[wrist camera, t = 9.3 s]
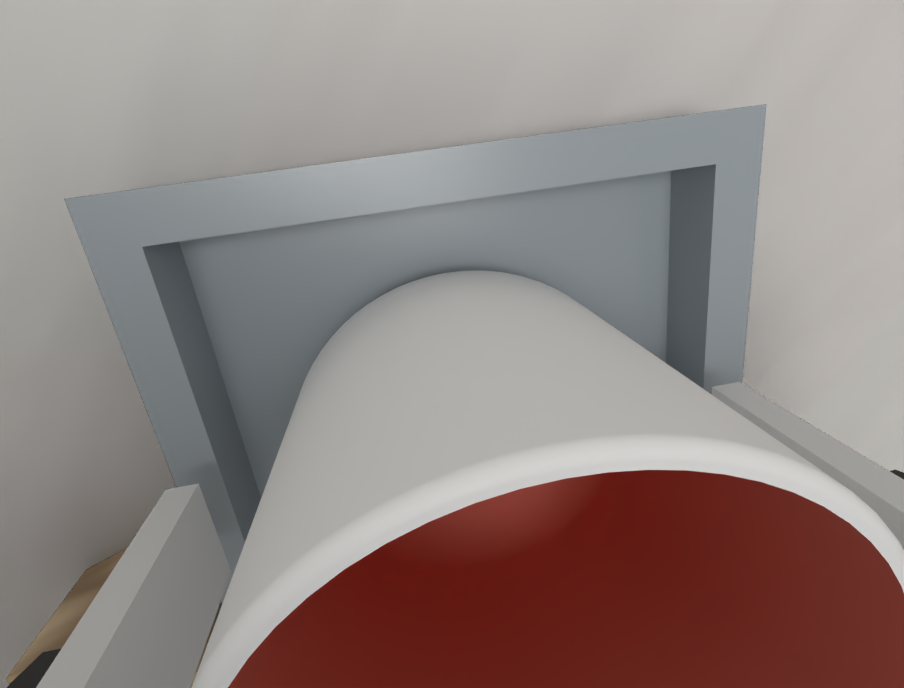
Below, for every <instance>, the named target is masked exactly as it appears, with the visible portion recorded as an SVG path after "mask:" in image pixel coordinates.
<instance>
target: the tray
mask: <svg viewBox="0 0 904 688" xmlns="http://www.w3.org/2000/svg"><path fill="white" fill-rule="evenodd" d="M765 115H766V104H764V105H756V106H749V107H741V108H734V109H727V110H719V111H712V112H704V113H697V114H690V115H682V116H675V117H667V118H660V119H653V120H645V121H638V122H630V123H623V124H615V125H608V126H601V127H593V128H586V129H578V130H571V131H564V132H556V133H549V134H541V135H534V136H527V137H519V138H512V139H504V140H497V141H490V142H482V143H475V144H467V145H460V146H453V147H445V148H438V149H430V150H423V151H415V152H408V153H401V154H393V155H386V156H378V157H371V158H364V159H356V160H349V161H341V162H334V163H327V164H319V165H312V166H304V167H297V168H290V169H282V170H275V171H267V172H260V173H253V174H245V175H238V176H230V177H223V178H215V179H208V180H201V181H193V182H186V183H178V184H171V185H164V186H156V187H149V188H141V189H134V190H127V191H119V192H112V193H104V194H97V195H90V196H82V197H75V198H67V199H64V200H65V203H66V205H67V208H68V210H69V213H70V215H71V218H72V221H73V223H74V226H75V228H76V231H77V233H78V236H79V239H80V241H81V244H82V246H83V249H84V251H85V254H86V257H87V259H88V262H89V264H90V267H91V269H92V272H93V275H94V277H95V280H96V282H97V285H98V287H99V290H100V292H101V295H102V298H103V300H104V303H105V305H106V308H107V310H108V313H109V316H110V318H111V321H112V323H113V326H114V328H115V331H116V334H117V336H118V339H119V341H120V344H121V346H122V349H123V351H124V354H125V357H126V359H127V362H128V364H129V367H130V369H131V372H132V375H133V377H134V380H135V382H136V385H137V387H138V390H139V393H140V395H141V398H142V400H143V403H144V405H145V408H146V410H147V413H148V416H149V418H150V421H151V423H152V426H153V428H154V431H155V434H156V436H157V439H158V441H159V444H160V446H161V449H162V452H163V454H164V457H165V459H166V462H167V464H168V467H169V469H170V472H171V475H172V477H173V480H174V482H175V485H176V487H182V486H188V485H193V484H198V483H199V486H200V489H201V491H202V494H203V497H204V499H205V502H206V505H207V508H208V510H209V513H210V516H211V518H212V521H213V524H214V526H215V529H216V532H217V534H218V537H219V540H220V542H221V545H222V548H223V551H224V553H225V556H226V559H227V561H228V564H229V567H230V569H231V574H230V577H229V580H228V582H227V585H226V588H225V591H224V594H223V596H222V599H221V603H222V604H223V601H224V598H225V595H226V593H227V590H228V587H229V585H230V582H231V579H232V576H233V574H234V571H235V568H236V565H237V563H238V560H239V557H240V555H241V552H242V549H243V546H244V544H245V541H246V538H247V536H248V533H249V530H250V527H251V525H252V522H253V519H254V516H255V514H256V511H257V508H258V506H259V503H260V500H261V497H262V495H263V492H264V489H265V486H266V484H267V481H268V478H269V476H270V473H271V470H272V467H273V465H274V462H275V459H276V457H277V454H278V451H279V448H280V446H281V443H282V440H283V437H284V435H285V432H286V429H287V427H288V424H289V421H290V418H291V416H292V413H293V410H294V408H295V405H296V402H297V399H298V397H299V394H300V391H301V388H302V386H303V383H304V381H305V379H306V376H307V374H308V372H309V370H310V368H311V366H312V364H313V363H314V361H315V359H316V358H317V356H318V355H319V353H320V351H321V350H322V349H323V347H324V346H325V345H326V343H327V342H328V341H329V339H330V338H331V337H332V336H333V335H334V334H335V333H336V332H337V330H338V329H339V328H340V327H341V326H342V325H343V324H344V323H345V322H346V321H347V320H349V319H350V318H351V317H352V316H353V315H354V314H355V313H357V312H358V311H359V310H361V309H362V308H363V307H365V306H366V305H367V304H369V303H370V302H372V301H373V300H375V299H377V298H378V297H380V296H382V295H383V294H385V293H387V292H389V291H391V290H393V289H395V288H397V287H399V286H402V285H404V284H407V283H409V282H412V281H415V280H418V279H422V278H425V277H428V276H433V275H437V274H442V273H449V272H457V271H474V270H484V271H496V272H504V273H509V274H514V275H519V276H523V277H526V278H529V279H533V280H536V281H539V282H542V283H544V284H546V285H548V286H551V287H553V288H555V289H557V290H559V291H561V292H562V293H564V294H566V295H568V296H569V297H571V298H572V299H574V300H575V301H576V302H578V303H579V304H581V305H582V306H584V307H585V308H587V309H588V310H590V311H591V312H592V313H594V314H595V315H597V316H598V317H600V318H601V319H603V320H604V321H606V322H607V323H608V324H610V325H611V326H613V327H614V328H616V329H617V330H619V331H620V332H622V333H623V334H624V335H626V336H627V337H629V338H630V339H632V340H633V341H635V342H636V343H637V344H639V345H640V346H642V347H643V348H645V349H646V350H648V351H649V352H651V353H652V354H653V355H655V356H656V357H658V358H659V359H661V360H662V361H664V362H665V363H666V364H668V365H669V366H671V367H672V368H674V369H675V370H677V371H678V372H680V373H681V374H682V375H684V376H685V377H687V378H688V379H690V380H691V381H693V382H694V383H695V384H697V385H698V386H700V387H701V388H703V389H704V390H706V391H707V392H709V393H710V394H711V395H712V387H714V386H719V385H724V384H730V383H735V382H740V383H742V379H743V367H744V356H745V344H746V333H747V321H748V310H749V298H750V287H751V275H752V264H753V252H754V241H755V229H756V218H757V206H758V195H759V183H760V172H761V160H762V149H763V137H764V126H765Z"/></svg>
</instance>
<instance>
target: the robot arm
mask: <svg viewBox="0 0 904 688" xmlns="http://www.w3.org/2000/svg"><path fill="white" fill-rule="evenodd" d="M712 395H713V396H714V397H716V398H717V399H719V400H720V401H722V402H723V403H724V404H726V405H727V406H729V407H730V408H732V409H733V410H735V411H736V412H737V413H739V414H740V415H742V416H743V417H745V418H746V419H748V420H749V421H751V422H752V423H753V424H755V425H756V426H758V427H759V428H761V429H762V430H764V431H765V432H766V433H768V434H769V435H771V436H772V437H774V438H775V439H777V440H778V441H780V442H781V443H782V444H784V445H785V446H787V447H788V448H790V449H791V450H793V451H794V452H795V453H797V454H798V455H800V456H801V457H803V458H804V459H806V460H807V461H808V462H810V463H811V464H813V465H814V466H816V467H817V468H819V469H820V470H822V471H823V472H824V473H826V474H827V475H829V476H830V477H832V478H833V479H835V480H836V481H837V482H839V483H840V484H842V485H843V486H845V487H846V488H848V489H849V490H851V491H852V492H853V493H855V494H856V495H857V496H858V497H859V498H860V499H861V500H862V501H864V502H865V503H866V504H867V505H868V506H869V507H870V508H871V509H873V510H874V511H875V512H876V513H877V514H878V516H879V517H880V518H881V519H882V521H883V522H884V523H885V524H886V526H887V527H888V528H889V529H890V531H891V532H892V533H893V534H894V536H895V537H896V538H897V539H898V541H899V542H900V544H901V546H902V548H903V550H904V473H903V472H900V471H897V470H893V471H888V470H887V469H885V468H883V467H882V466H880V465H878V464H877V463H875V462H873V461H872V460H870V459H868V458H867V457H865V456H863V455H862V454H860V453H858V452H857V451H855V450H853V449H851V448H850V447H848V446H846V445H845V444H843V443H841V442H840V441H838V440H836V439H835V438H833V437H831V436H830V435H828V434H826V433H825V432H823V431H821V430H820V429H818V428H816V427H814V426H813V425H811V424H809V423H808V422H806V421H804V420H803V419H801V418H799V417H798V416H796V415H794V414H793V413H791V412H789V411H788V410H786V409H784V408H782V407H781V406H779V405H777V404H776V403H774V402H772V401H771V400H769V399H767V398H766V397H764V396H762V395H761V394H759V393H757V392H756V391H754V390H752V389H751V388H749V387H747V386H745V385H744V384H742V383H740V382H735V383H730V384H724V385H719V386H714V387H712ZM230 574H231V569H230V567H229V564H228V561H227V559H226V556H225V553H224V551H223V548H222V545H221V542H220V540H219V537H218V534H217V532H216V529H215V526H214V524H213V521H212V518H211V516H210V513H209V510H208V508H207V505H206V502H205V499H204V497H203V494H202V491H201V489H200V486H199V483H198V484H193V485H188V486H182V487H177V488H172V489H166V490H165V491H164V493H163V494H162V496H161V497H160V499H159V500H158V502H157V503H156V505H155V506H154V508H153V509H152V511H151V512H150V514H149V516H148V517H147V519H146V520H145V522H144V523H143V525H142V526H141V528H140V529H139V531H138V532H137V534H136V535H135V537H134V538H133V540H132V542H131V543H130V545H129V546H128V548H127V549H126V551H125V552H124V554H123V555H122V557H121V558H120V560H119V561H118V563H117V565H116V566H115V568H114V569H113V571H112V572H111V574H110V575H109V577H108V578H107V580H106V581H105V583H104V584H103V586H102V587H101V589H100V591H99V592H98V594H97V595H96V597H95V598H94V600H93V601H92V603H91V604H90V606H89V607H88V609H87V610H86V612H85V614H84V615H83V617H82V618H81V620H80V621H79V623H78V624H77V626H76V627H75V629H74V630H73V632H72V633H71V635H70V636H69V638H68V640H67V641H66V643H65V644H64V646H63V647H62V648H61V649H56V650H51V651H47V652H42V653H41V654H40V655H39V656H38V657H37V658H36V659H35V660H34V661H33V662H32V663H31V664H30V665H29V666H28V667H27V668H26V669H25V670H24V671H23V672H21V673H20V674H19V675H18V676H17V677H16V678H15V679H14V680H13V681H12V682H11V683H10V684H9V686H8V687H7V688H190V686H191V683H192V680H193V677H194V674H195V672H196V669H197V666H198V663H199V661H200V658H201V655H202V652H203V649H204V647H205V644H206V641H207V638H208V635H209V633H210V630H211V627H212V624H213V621H214V619H215V616H216V613H217V610H218V608H219V605H220V602H221V599H222V596H223V594H224V591H225V588H226V585H227V582H228V580H229V577H230Z"/></svg>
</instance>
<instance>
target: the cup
mask: <svg viewBox="0 0 904 688" xmlns="http://www.w3.org/2000/svg"><path fill="white" fill-rule="evenodd" d="M192 688H904V550H903V548H902V546H901V544H900V542H899V541H898V539H897V538H896V537H895V536H894V534H893V533H892V532H891V531H890V529H889V528H888V527H887V526H886V524H885V523H884V522H883V521H882V519H881V518H880V517H879V516H878V514H877V513H876V512H875V511H874V510H873V509H871V508H870V507H869V506H868V505H867V504H866V503H865V502H864V501H862V500H861V499H860V498H859V497H858V496H857V495H856V494H855V493H853V492H852V491H851V490H849V489H848V488H846V487H845V486H843V485H842V484H840V483H839V482H837V481H836V480H835V479H833V478H832V477H830V476H829V475H827V474H826V473H824V472H823V471H822V470H820V469H819V468H817V467H816V466H814V465H813V464H811V463H810V462H808V461H807V460H806V459H804V458H803V457H801V456H800V455H798V454H797V453H795V452H794V451H793V450H791V449H790V448H788V447H787V446H785V445H784V444H782V443H781V442H780V441H778V440H777V439H775V438H774V437H772V436H771V435H769V434H768V433H766V432H765V431H764V430H762V429H761V428H759V427H758V426H756V425H755V424H753V423H752V422H751V421H749V420H748V419H746V418H745V417H743V416H742V415H740V414H739V413H737V412H736V411H735V410H733V409H732V408H730V407H729V406H727V405H726V404H724V403H723V402H722V401H720V400H719V399H717V398H716V397H714V396H713V395H711V394H710V393H709V392H707V391H706V390H704V389H703V388H701V387H700V386H698V385H697V384H695V383H694V382H693V381H691V380H690V379H688V378H687V377H685V376H684V375H682V374H681V373H680V372H678V371H677V370H675V369H674V368H672V367H671V366H669V365H668V364H666V363H665V362H664V361H662V360H661V359H659V358H658V357H656V356H655V355H653V354H652V353H651V352H649V351H648V350H646V349H645V348H643V347H642V346H640V345H639V344H637V343H636V342H635V341H633V340H632V339H630V338H629V337H627V336H626V335H624V334H623V333H622V332H620V331H619V330H617V329H616V328H614V327H613V326H611V325H610V324H608V323H607V322H606V321H604V320H603V319H601V318H600V317H598V316H597V315H595V314H594V313H592V312H591V311H590V310H588V309H587V308H585V307H584V306H582V305H581V304H579V303H578V302H576V301H575V300H574V299H572V298H571V297H569V296H568V295H566V294H564V293H562V292H561V291H559V290H557V289H555V288H553V287H551V286H548V285H546V284H544V283H542V282H539V281H536V280H533V279H529V278H526V277H523V276H519V275H514V274H509V273H504V272H496V271H484V270H474V271H457V272H449V273H442V274H437V275H433V276H428V277H425V278H422V279H418V280H415V281H412V282H409V283H407V284H404V285H402V286H399V287H397V288H395V289H393V290H391V291H389V292H387V293H385V294H383V295H382V296H380V297H378V298H377V299H375V300H373V301H372V302H370V303H369V304H367V305H366V306H365V307H363V308H362V309H361V310H359V311H358V312H357V313H355V314H354V315H353V316H352V317H351V318H350V319H349V320H347V321H346V322H345V323H344V324H343V325H342V326H341V327H340V328H339V329H338V330H337V332H336V333H335V334H334V335H333V336H332V337H331V338H330V339H329V341H328V342H327V343H326V345H325V346H324V347H323V349H322V350H321V351H320V353H319V355H318V356H317V358H316V359H315V361H314V363H313V364H312V366H311V368H310V370H309V372H308V374H307V376H306V379H305V381H304V383H303V386H302V388H301V391H300V394H299V397H298V399H297V402H296V405H295V408H294V410H293V413H292V416H291V418H290V421H289V424H288V427H287V429H286V432H285V435H284V437H283V440H282V443H281V446H280V448H279V451H278V454H277V457H276V459H275V462H274V465H273V467H272V470H271V473H270V476H269V478H268V481H267V484H266V486H265V489H264V492H263V495H262V497H261V500H260V503H259V506H258V508H257V511H256V514H255V516H254V519H253V522H252V525H251V527H250V530H249V533H248V536H247V538H246V541H245V544H244V546H243V549H242V552H241V555H240V557H239V560H238V563H237V565H236V568H235V571H234V574H233V576H232V579H231V582H230V585H229V587H228V590H227V593H226V595H225V598H224V601H223V604H222V606H221V609H220V612H219V615H218V617H217V620H216V623H215V625H214V628H213V631H212V634H211V636H210V639H209V642H208V644H207V647H206V650H205V653H204V655H203V658H202V661H201V664H200V666H199V669H198V672H197V674H196V677H195V680H194V683H193V685H192Z"/></svg>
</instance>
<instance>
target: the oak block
mask: <svg viewBox="0 0 904 688" xmlns="http://www.w3.org/2000/svg"><path fill="white" fill-rule="evenodd" d="M126 549H127V548H126ZM126 549H124V550H122V551H120V552H118V553H116V554H115V555H113V556H111V557H109V558H107V559H105V560H103V561H101V562H100V563H98V564H96V565H94V566H92V567H90V568H88V569H87V570H86V571H85V572H84V573H83V575H82V576H81V577H80V579H79V580H78V581H77V583H76V584H75V586H74V587H73V588H72V590H71V591H70V592H69V594H68V595H67V596H66V598H65V599H64V600H63V602H62V603H61V604H60V606H59V607H58V609H57V610H56V611H55V613H54V614H53V615H52V617H51V618H50V619H49V621H48V622H47V623H46V625H45V626H44V628H43V629H42V630H41V632H40V633H39V634H38V636H37V637H36V638H35V640H34V641H33V642H32V644H31V645H30V647H29V648H28V649H27V651H26V652H25V653H24V655H23V656H22V657H21V659H20V660H19V661H18V663H17V664H16V665H15V667H14V668H13V670H12V671H11V672H10V674H9V675H8V676H7V678H6V679H5V680H6V681H7V682H9V683H11V682H12V681H13V680H14V679H15V678H16V677H17V676H18V675H19V674H20V673H21V672H23V671H24V670H25V669H26V668H27V667H28V666H29V665H30V664H31V663H32V662H33V661H34V660H35V659H36V658H37V657H38V656H39V655H40V654H41V653H42V652H47V651H51V650H56V649H61V648H62V647H63V646H64V644H65V643H66V641H67V640H68V638H69V636H70V635H71V633H72V632H73V630H74V629H75V627H76V626H77V624H78V623H79V621H80V620H81V618H82V617H83V615H84V614H85V612H86V610H87V609H88V607H89V606H90V604H91V603H92V601H93V600H94V598H95V597H96V595H97V594H98V592H99V591H100V589H101V587H102V586H103V584H104V583H105V581H106V580H107V578H108V577H109V575H110V574H111V572H112V571H113V569H114V568H115V566H116V565H117V563H118V561H119V560H120V558H121V557H122V555H123V554H124V552H125V551H126ZM221 606H222V603H221V602H220V605H219V608H218V610H217V613H216V616H215V619H214V621H213V624H212V627H211V630H210V633H209V635H208V638H207V641H206V644H205V647H204V649H203V652H202V655H201V658H200V661H199V663H198V666H197V669H196V672H195V674H194V677H193V680H192V683H191V686H190V688H192V685H193V683H194V680H195V677H196V674H197V672H198V669H199V666H200V664H201V661H202V658H203V655H204V653H205V650H206V647H207V644H208V642H209V639H210V636H211V634H212V631H213V628H214V625H215V623H216V620H217V617H218V615H219V612H220V609H221Z"/></svg>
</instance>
